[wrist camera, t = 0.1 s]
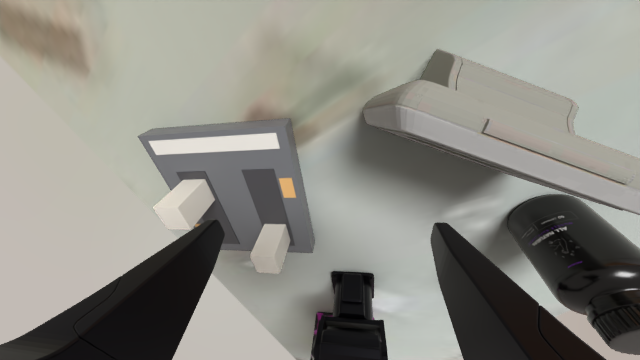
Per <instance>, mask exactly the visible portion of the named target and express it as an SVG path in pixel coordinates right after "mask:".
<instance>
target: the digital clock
mask: <svg viewBox="0 0 640 360" xmlns="http://www.w3.org/2000/svg"><path fill="white" fill-rule="evenodd" d="M578 108H579V107H578V106H577V104H576V103H575V102H574V101H572V100H571V99H569V98H566V97H564V96H561V95H558V94H556V93H553V92H550V91H548V90H545V89H543V88H540V87H537V86H535V85H532V84H530V83H527V82H524V81H522V80H519V79H516V78H514V77H511V76H509V75H506V74H503V73H501V72H498V71H496V70H493V69H490V68H488V67H485V66H483V65H480V64H477V63H475V62H472V61H469V60H467V59H464V58H462V57H459V56H457V55H454V54H451V53H448V52H445V51H443V50H440V49H437V50H436V51H435V53H434V54H433V56H432V58H431V60H430V62H429V63H428V65H427V67H426V69H425V71H424V73H423V75H422V76H421V78H420V80H416V81H412V82H409V83H406V84H403V85H401V86H398V87H396V88H394V89H391V90H389V91H386V92H384V93H381V94H379V95H377V96H375V97H374V98H372V99H371V100H369V101H368V102H367V104H366V105H365V107H364V109H363V114H364V118H365V121H366V123H367V124H369V125H372V126H375V127H376V128H378V129H381V130H384V131H387V132H390V133H392V134H395V135H398V136H401V137H404V138H407V139H409V140H412V141H415V142H418V143H421V144H424V145H426V146H429V147H432V148H435V149H438V150H441V151H443V152H446V153H449V154H452V155H455V156H458V157H460V158H463V159H466V160H469V161H472V162H475V163H477V164H480V165H483V166H486V167H489V168H492V169H494V170H497V171H500V172H503V173H506V174H509V175H512V176H515V177H518V178H521V179H524V180H527V181H530V182H533V183H537V184H540V185H543V186H546V187H549V188H553V189H556V190H559V191H562V192H565V193H568V194H571V195H574V196H577V197H580V198H584V199H587V200H590V201H593V202H596V203H599V204H603V205H606V206H609V207H612V208H615V209H619V210H622V211H623V210H625V211H628V212H632V213H635V214H638V215H640V159H639V158H636V157H634V156H631V155H628V154H626V153H623V152H620V151H618V150H615V149H612V148H610V147H607V146H604V145H601V144H599V143H596V142H593V141H591V140H588V139H585V138H583V137H580V136H577V135H575V131H574V126H573V123H574V118H575V116H576V114H577V111H578Z"/></svg>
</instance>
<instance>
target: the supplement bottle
mask: <svg viewBox="0 0 640 360" xmlns="http://www.w3.org/2000/svg"><path fill="white" fill-rule="evenodd" d="M508 229H509V231H510V233H511V234H512V236H513V237H514V239H515V240H516V242H517V243H518V245H519V246H520V247H521V249H522V250H523V252H524V253H525V255H526V256H527V258H528V259H529V260H530V262H531V263H532V265H533V266H534V268H535V269H536V271H537V272H538V273H539V275H540V276H541V278H542V279H543V281H544V282H545V284H546V285H547V286H548V288H549V289H550V291H551V292H552V294H553V295H554V296H555V298H556V299H557V300H558V301H559V302H560V303H561V304H563V305H564V306H565V307H567V308H569V309H570V310H572V311H575V312H577V313H580V314H583V315H587V319H588V321H589V323H590V324H591V325H592V327H593V328H594V329H596V331H597V332H598V333H599V335H600V336H601V337H602V339H603V340H604V341H605V342H606V344H607V345H608V346H609V347H610V348H611V349H614V350H615V351H619V352H621V353H627V354H634V355H640V249H639V248H638V247H637V246H636V245H635V244H633V243H632V242H631V241H630V240H629V239H627V238H626V237H625V236H624V235H623V234H621V233H620V232H619V231H618V230H617V229H615V228H614V227H613V226H612V225H611V224H609V223H608V222H607V221H606V220H605V219H603V218H602V217H601V216H600V215H599V214H597V213H596V212H595V211H594V210H593V209H591V208H590V207H589V206H588V205H586V204H585V203H584V202H583V201H581V200H580V199H578V198H575V197H573V196H569V195H563V194H551V195H544V196H540V197H536V198H533V199H531V200H529V201H527V202H525V203H523V204H521V205H520V206H518V207H517V208H516V209H515V210H514V211H513V212H512V213H511V215H510V217H509V219H508Z"/></svg>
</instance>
